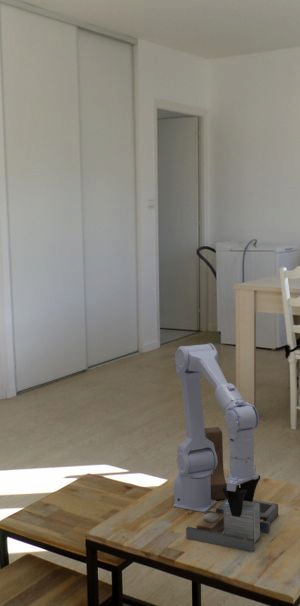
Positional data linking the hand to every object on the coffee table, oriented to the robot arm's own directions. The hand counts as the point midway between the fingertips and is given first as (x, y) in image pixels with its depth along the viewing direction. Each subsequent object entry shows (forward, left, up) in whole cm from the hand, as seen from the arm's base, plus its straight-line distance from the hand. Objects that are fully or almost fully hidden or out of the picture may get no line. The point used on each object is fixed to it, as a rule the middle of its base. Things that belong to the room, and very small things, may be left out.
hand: (241, 510), depth 181 cm
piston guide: (-4, 0, -7) cm, 8 cm away
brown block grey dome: (-8, 0, -7) cm, 11 cm away
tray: (-3, +12, -7) cm, 14 cm away
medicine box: (0, 0, -7) cm, 7 cm away
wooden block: (-16, +23, -7) cm, 29 cm away
